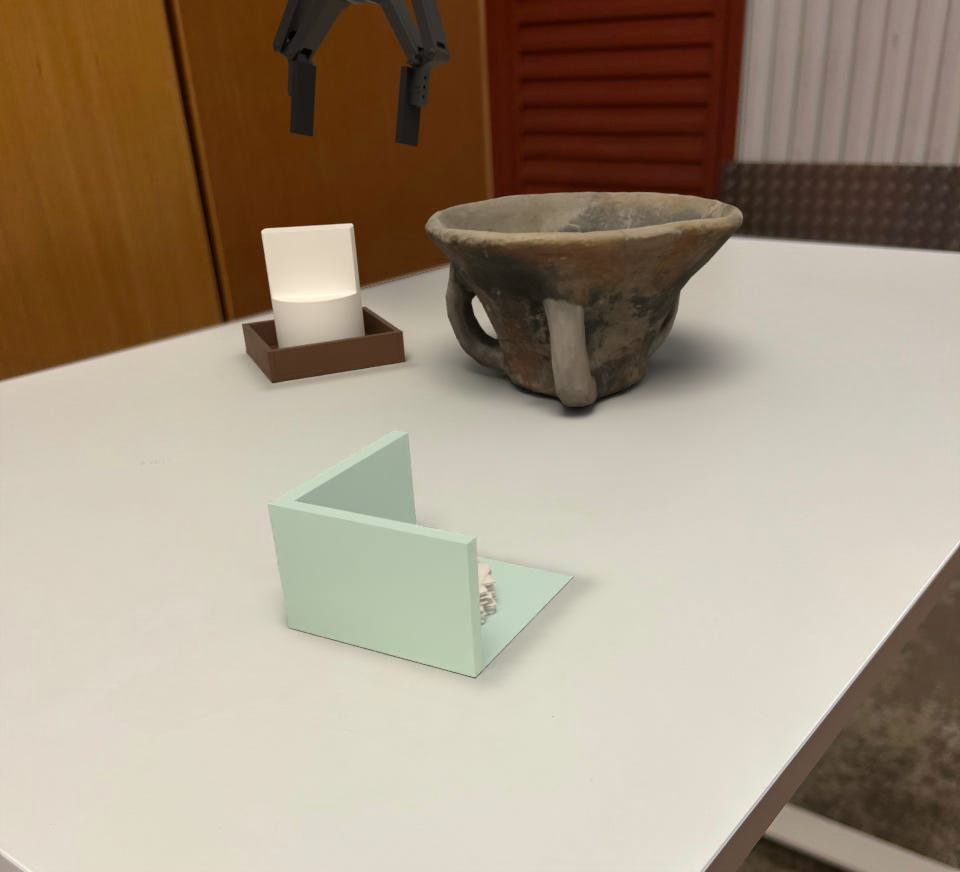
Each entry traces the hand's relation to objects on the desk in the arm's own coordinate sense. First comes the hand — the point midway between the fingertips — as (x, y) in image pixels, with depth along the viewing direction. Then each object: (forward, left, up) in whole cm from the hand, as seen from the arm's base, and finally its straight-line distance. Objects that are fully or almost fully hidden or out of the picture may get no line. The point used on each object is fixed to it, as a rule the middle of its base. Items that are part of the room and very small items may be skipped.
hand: (352, 140), depth 100 cm
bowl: (+29, -5, -20) cm, 35 cm away
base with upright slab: (+1, -9, -19) cm, 21 cm away
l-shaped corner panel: (+41, -47, -20) cm, 65 cm away
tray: (+1, -9, -19) cm, 21 cm away
